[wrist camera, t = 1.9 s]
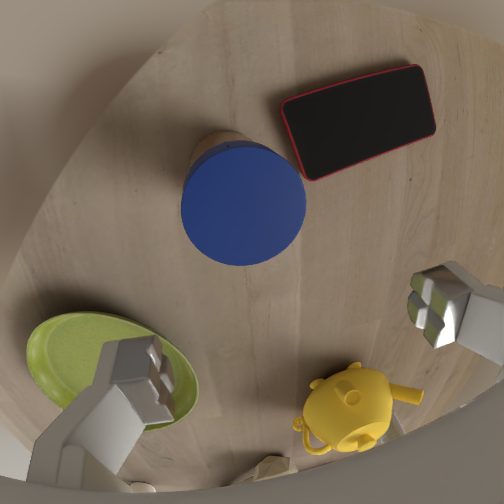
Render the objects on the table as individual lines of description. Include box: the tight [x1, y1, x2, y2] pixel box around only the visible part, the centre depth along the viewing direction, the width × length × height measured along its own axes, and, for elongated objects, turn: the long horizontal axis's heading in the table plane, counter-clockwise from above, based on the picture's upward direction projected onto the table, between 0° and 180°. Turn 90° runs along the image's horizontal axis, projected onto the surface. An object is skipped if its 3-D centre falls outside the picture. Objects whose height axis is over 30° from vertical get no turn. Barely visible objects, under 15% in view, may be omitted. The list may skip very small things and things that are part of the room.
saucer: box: [26, 311, 199, 432], centre depth 32 cm, size 21×21×3 cm
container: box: [380, 409, 406, 444], centre depth 43 cm, size 5×5×15 cm
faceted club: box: [235, 456, 298, 485], centre depth 49 cm, size 9×8×25 cm
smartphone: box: [280, 64, 436, 181], centre depth 24 cm, size 7×1×15 cm
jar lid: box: [181, 140, 306, 266], centre depth 17 cm, size 6×6×2 cm
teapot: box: [293, 362, 424, 455], centre depth 36 cm, size 14×14×11 cm
